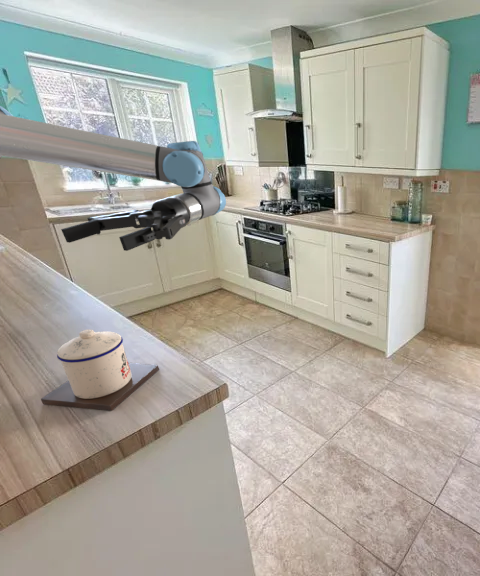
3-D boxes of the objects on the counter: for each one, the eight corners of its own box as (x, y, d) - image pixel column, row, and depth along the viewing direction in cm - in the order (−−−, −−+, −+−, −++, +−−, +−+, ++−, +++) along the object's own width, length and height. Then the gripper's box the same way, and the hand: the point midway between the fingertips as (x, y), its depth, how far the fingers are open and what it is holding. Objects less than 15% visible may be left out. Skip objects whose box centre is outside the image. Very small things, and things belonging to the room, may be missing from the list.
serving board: (42, 404, 59) (40, 399, 58) (100, 364, 70) (99, 359, 69) (111, 410, 58) (109, 405, 58) (159, 369, 69) (158, 365, 69)
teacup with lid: (139, 383, 63) (124, 331, 59) (77, 408, 57) (55, 351, 52) (122, 358, 70) (107, 309, 66) (65, 377, 64) (44, 325, 59)
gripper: (223, 231, 82) (154, 265, 63) (138, 221, 86) (50, 250, 67) (217, 201, 78) (142, 228, 60) (129, 192, 82) (33, 214, 64)
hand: (93, 240), depth 64 cm, fingers open, 13 cm apart
